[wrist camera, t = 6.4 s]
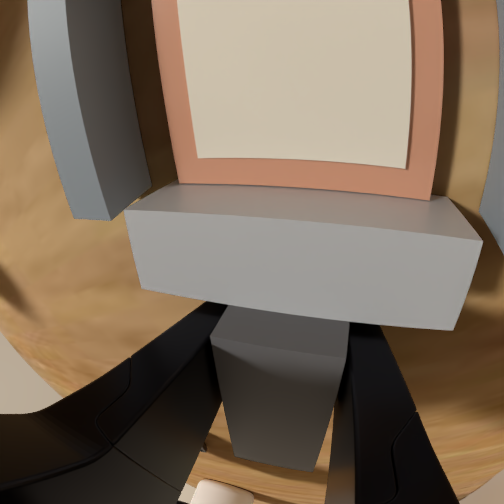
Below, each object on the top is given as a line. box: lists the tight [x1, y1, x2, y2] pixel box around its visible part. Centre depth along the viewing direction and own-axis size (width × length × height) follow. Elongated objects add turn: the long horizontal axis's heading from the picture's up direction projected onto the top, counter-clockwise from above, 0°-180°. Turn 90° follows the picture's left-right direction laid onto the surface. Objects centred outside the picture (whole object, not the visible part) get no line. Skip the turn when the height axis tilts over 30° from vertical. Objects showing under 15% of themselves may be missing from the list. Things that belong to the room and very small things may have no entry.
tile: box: [151, 0, 444, 201], centre depth 5 cm, size 6×6×1 cm
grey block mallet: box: [124, 179, 483, 472], centre depth 8 cm, size 8×7×4 cm
